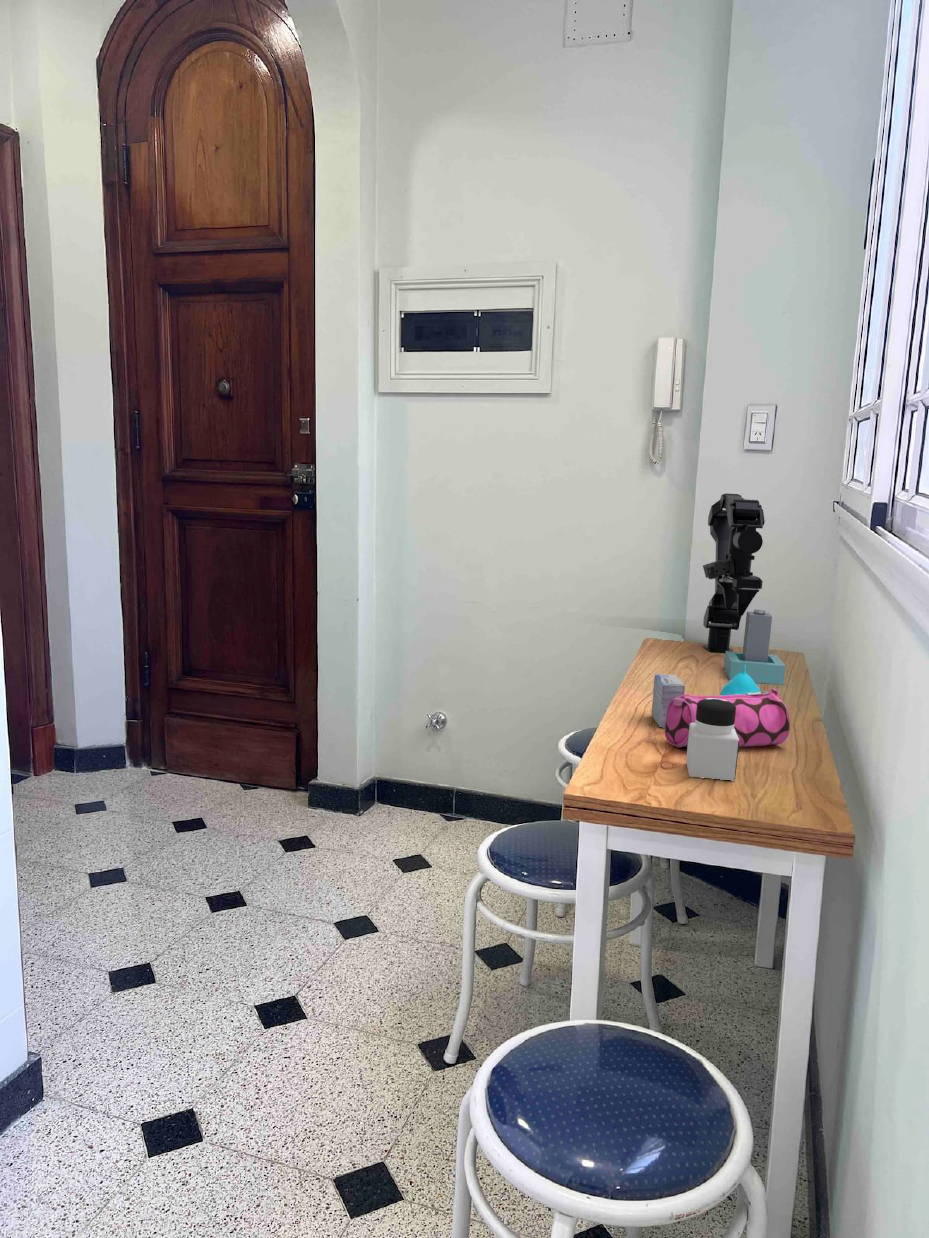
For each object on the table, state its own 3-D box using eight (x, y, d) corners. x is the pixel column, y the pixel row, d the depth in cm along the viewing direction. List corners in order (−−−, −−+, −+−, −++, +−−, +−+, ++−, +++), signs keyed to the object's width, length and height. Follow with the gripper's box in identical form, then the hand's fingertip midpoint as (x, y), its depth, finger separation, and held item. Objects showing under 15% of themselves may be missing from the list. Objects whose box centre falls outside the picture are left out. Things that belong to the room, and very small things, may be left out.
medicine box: (682, 729, 166) (686, 684, 164) (658, 728, 166) (662, 683, 164) (673, 717, 174) (677, 674, 172) (650, 716, 174) (654, 673, 172)
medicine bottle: (735, 782, 139) (743, 709, 137) (688, 777, 140) (695, 704, 138) (729, 767, 146) (737, 697, 144) (685, 762, 147) (692, 693, 145)
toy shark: (720, 728, 168) (726, 673, 166) (708, 702, 185) (713, 653, 183) (774, 732, 166) (780, 677, 164) (756, 706, 184) (761, 656, 182)
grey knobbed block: (741, 661, 213) (747, 608, 210) (763, 662, 212) (769, 609, 209) (744, 665, 208) (750, 611, 205) (766, 667, 207) (772, 613, 205)
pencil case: (757, 733, 166) (763, 681, 164) (790, 750, 157) (797, 695, 155) (656, 739, 159) (661, 686, 158) (685, 757, 150) (690, 700, 149)
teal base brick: (723, 668, 217) (725, 650, 216) (774, 672, 215) (776, 654, 214) (729, 680, 205) (731, 661, 205) (783, 684, 204) (785, 665, 203)
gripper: (697, 545, 227) (691, 605, 230) (719, 552, 209) (713, 617, 211) (740, 547, 227) (734, 607, 230) (766, 554, 209) (759, 619, 212)
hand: (734, 612), depth 221 cm, fingers open, 9 cm apart
